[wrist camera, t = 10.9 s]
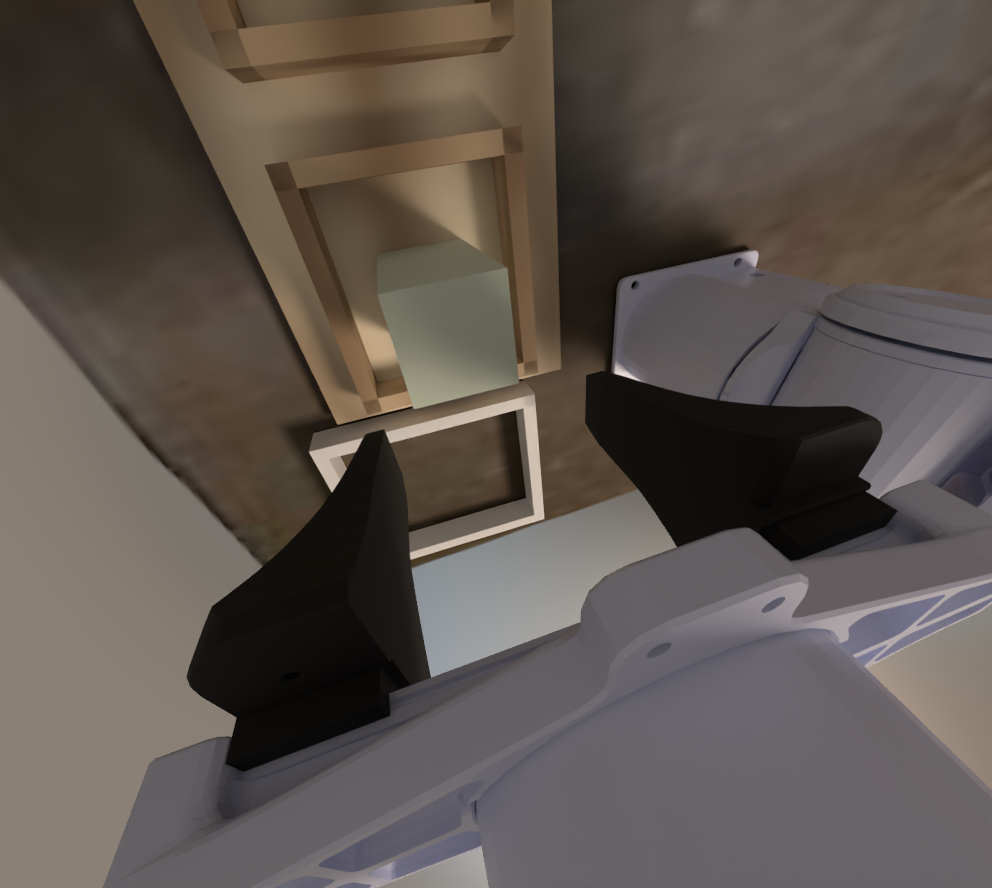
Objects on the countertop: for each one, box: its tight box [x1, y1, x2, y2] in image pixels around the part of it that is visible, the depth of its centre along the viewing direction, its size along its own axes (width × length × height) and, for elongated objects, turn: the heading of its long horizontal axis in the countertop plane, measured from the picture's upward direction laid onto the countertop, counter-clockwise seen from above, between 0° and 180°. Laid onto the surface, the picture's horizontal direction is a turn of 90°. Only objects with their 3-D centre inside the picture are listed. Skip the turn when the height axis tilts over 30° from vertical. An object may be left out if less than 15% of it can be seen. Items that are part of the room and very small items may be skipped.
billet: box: [377, 238, 519, 409], centre depth 15 cm, size 4×4×8 cm
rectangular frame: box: [309, 381, 544, 560], centre depth 26 cm, size 14×12×2 cm
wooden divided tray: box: [133, 0, 561, 425], centre depth 14 cm, size 14×26×3 cm, turn 8°
